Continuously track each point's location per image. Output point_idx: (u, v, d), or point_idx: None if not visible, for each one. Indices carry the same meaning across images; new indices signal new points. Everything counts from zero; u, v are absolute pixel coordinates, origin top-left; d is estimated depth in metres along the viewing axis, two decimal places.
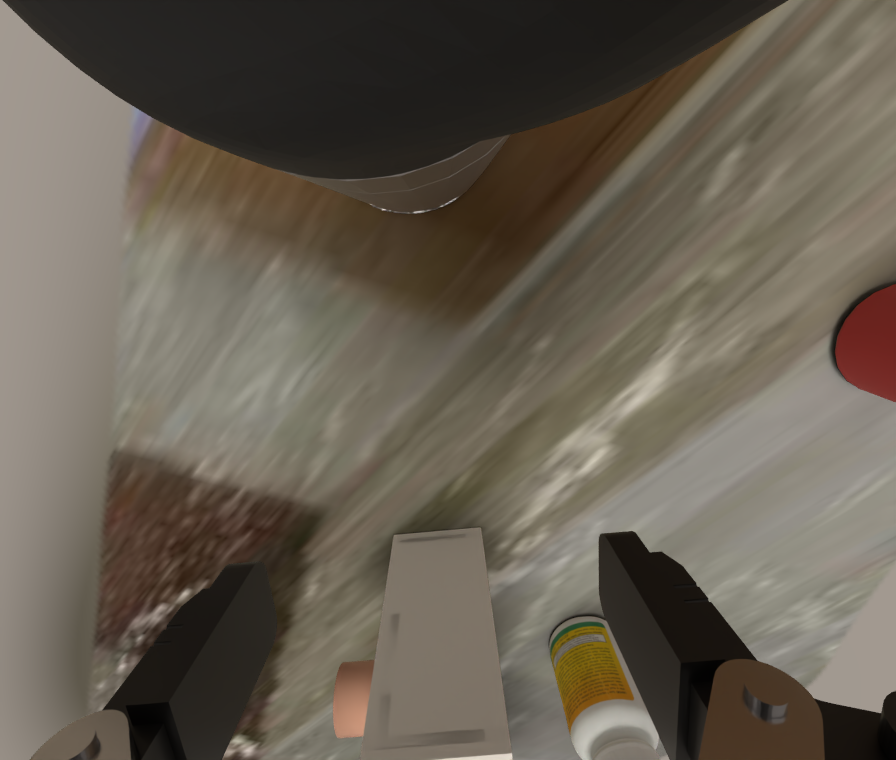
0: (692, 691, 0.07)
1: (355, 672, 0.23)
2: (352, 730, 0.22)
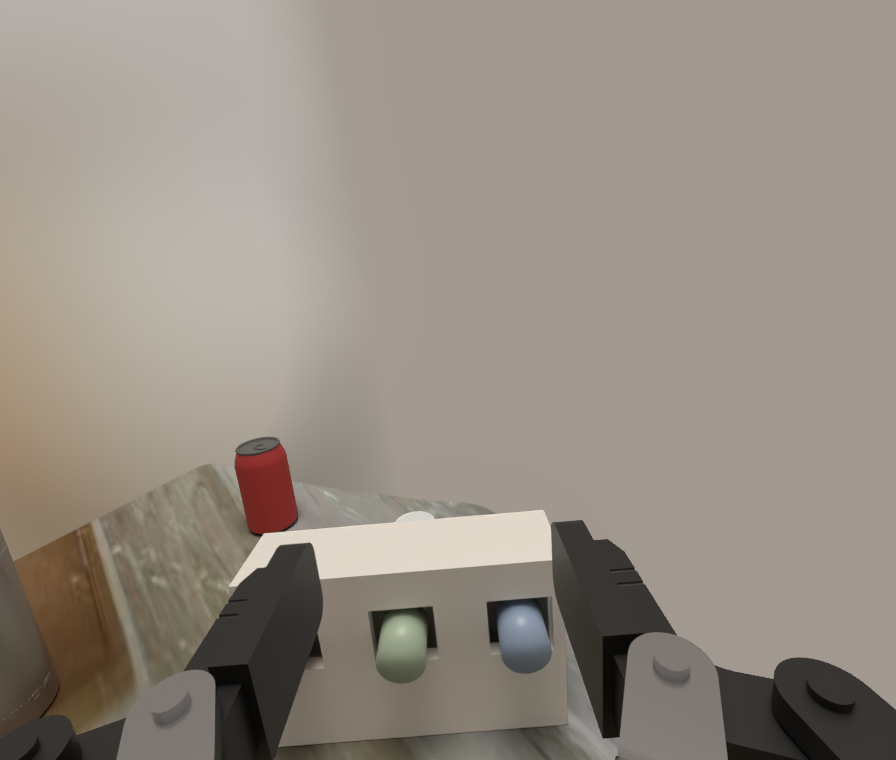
0: (614, 662, 0.07)
1: None
2: None
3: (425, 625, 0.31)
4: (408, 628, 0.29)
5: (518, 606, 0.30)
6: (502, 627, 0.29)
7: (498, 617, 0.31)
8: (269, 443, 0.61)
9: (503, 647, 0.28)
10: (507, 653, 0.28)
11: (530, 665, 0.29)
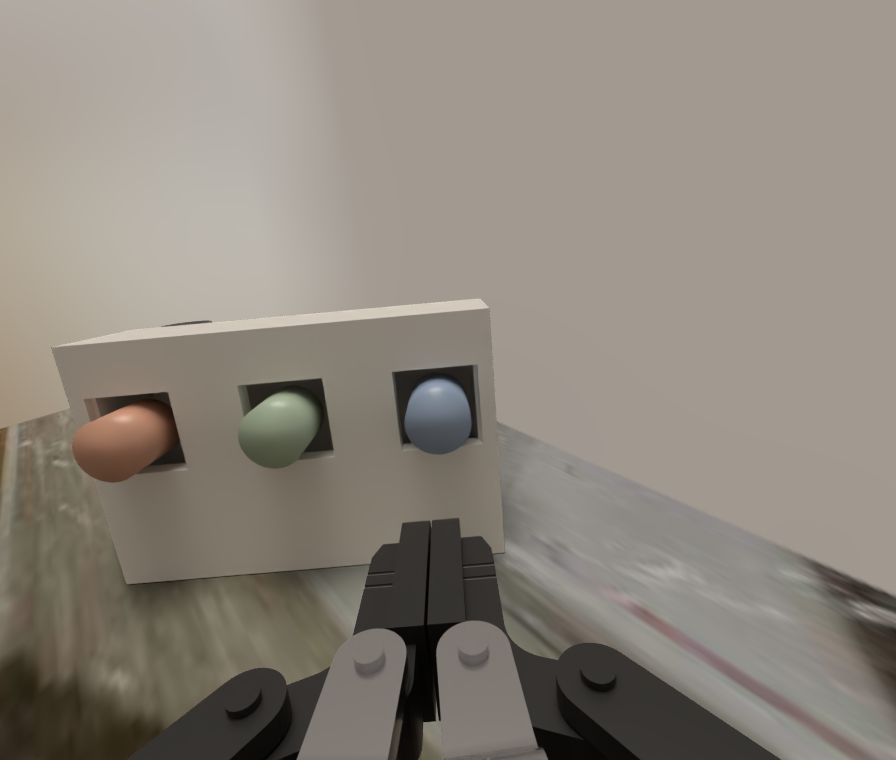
0: None
1: None
2: (111, 415, 0.22)
3: (315, 409, 0.24)
4: (286, 399, 0.22)
5: (433, 379, 0.23)
6: (410, 400, 0.23)
7: None
8: None
9: (406, 414, 0.21)
10: (412, 424, 0.21)
11: (444, 442, 0.22)
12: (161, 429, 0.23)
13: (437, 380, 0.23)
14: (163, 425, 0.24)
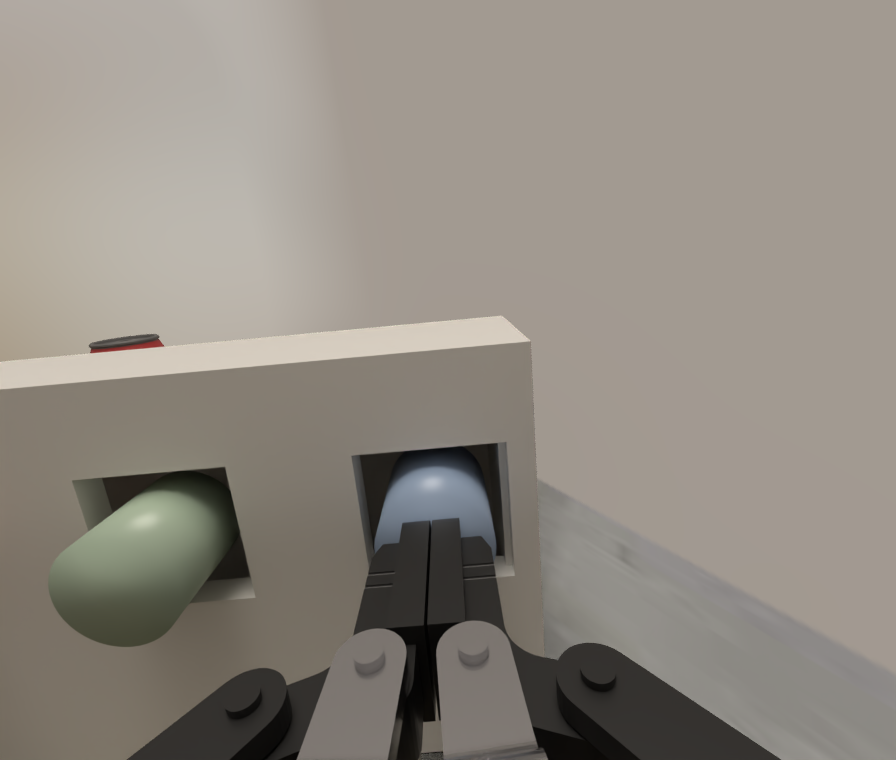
0: None
1: None
2: None
3: (218, 518, 0.13)
4: (152, 513, 0.12)
5: (428, 457, 0.14)
6: (386, 497, 0.13)
7: (388, 486, 0.14)
8: None
9: (378, 533, 0.12)
10: None
11: None
12: None
13: (434, 460, 0.13)
14: None
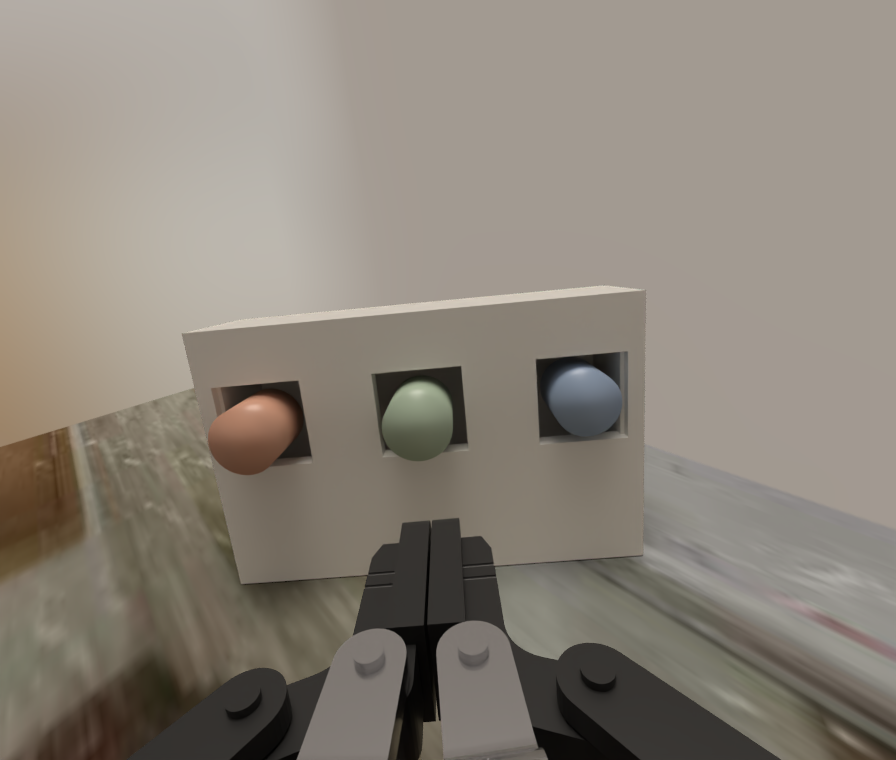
0: None
1: None
2: (245, 404, 0.21)
3: (450, 400, 0.22)
4: (427, 388, 0.21)
5: (573, 362, 0.23)
6: (552, 382, 0.22)
7: (546, 381, 0.23)
8: None
9: (557, 395, 0.21)
10: (561, 405, 0.21)
11: (592, 423, 0.21)
12: (290, 420, 0.22)
13: (578, 362, 0.23)
14: (291, 416, 0.22)
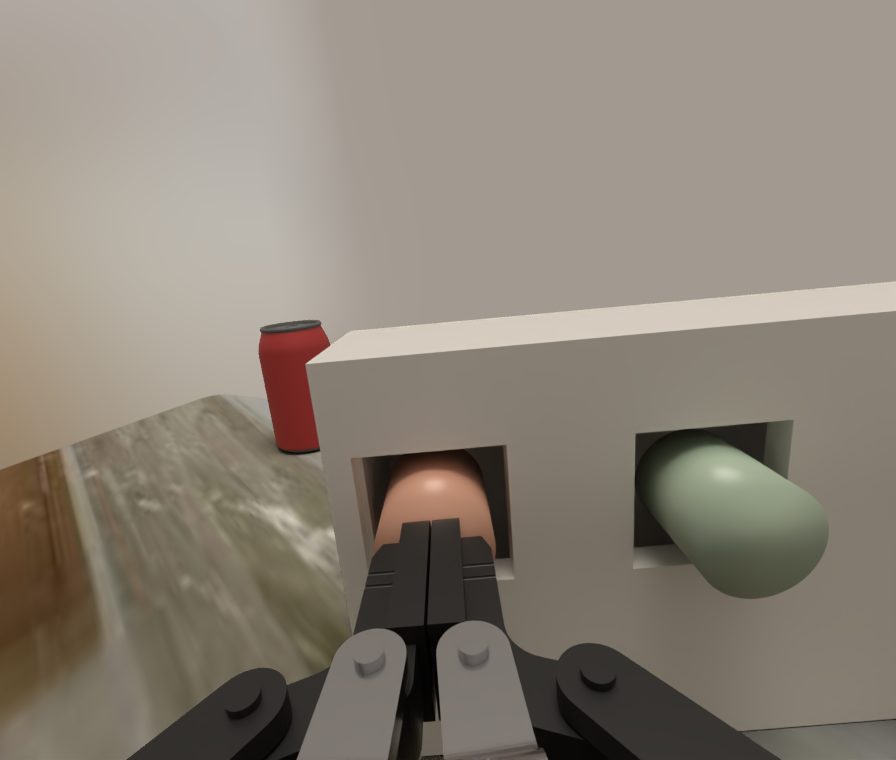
0: None
1: None
2: (432, 481, 0.12)
3: None
4: (756, 463, 0.12)
5: None
6: None
7: None
8: None
9: None
10: None
11: None
12: (486, 498, 0.14)
13: None
14: (484, 490, 0.14)
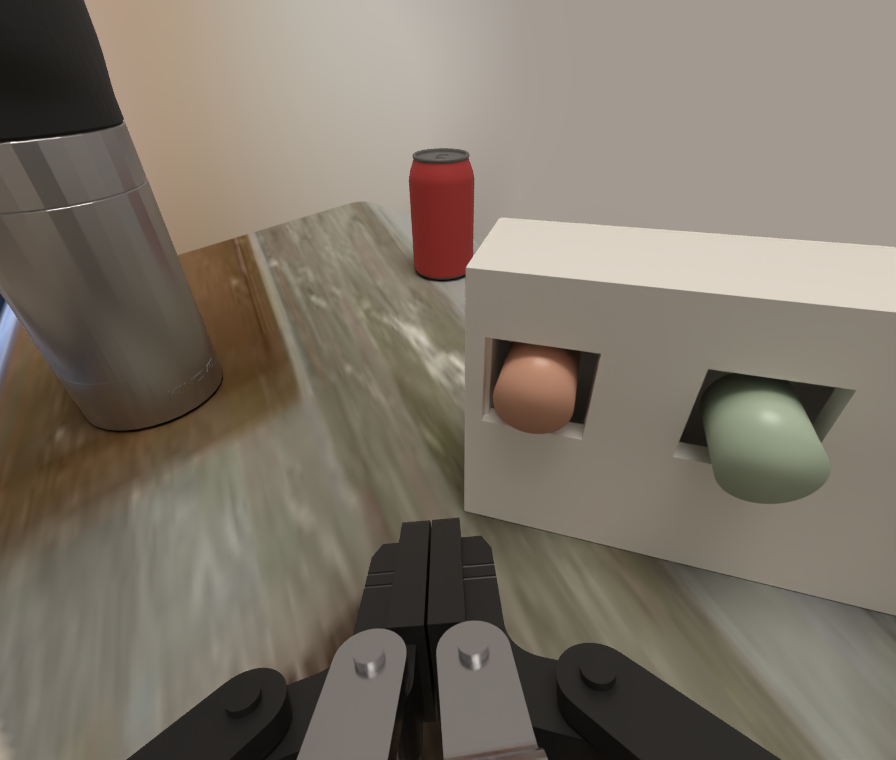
0: None
1: None
2: (541, 359, 0.17)
3: None
4: (798, 416, 0.15)
5: None
6: None
7: None
8: (455, 155, 0.44)
9: None
10: None
11: None
12: (577, 376, 0.19)
13: None
14: (577, 370, 0.19)
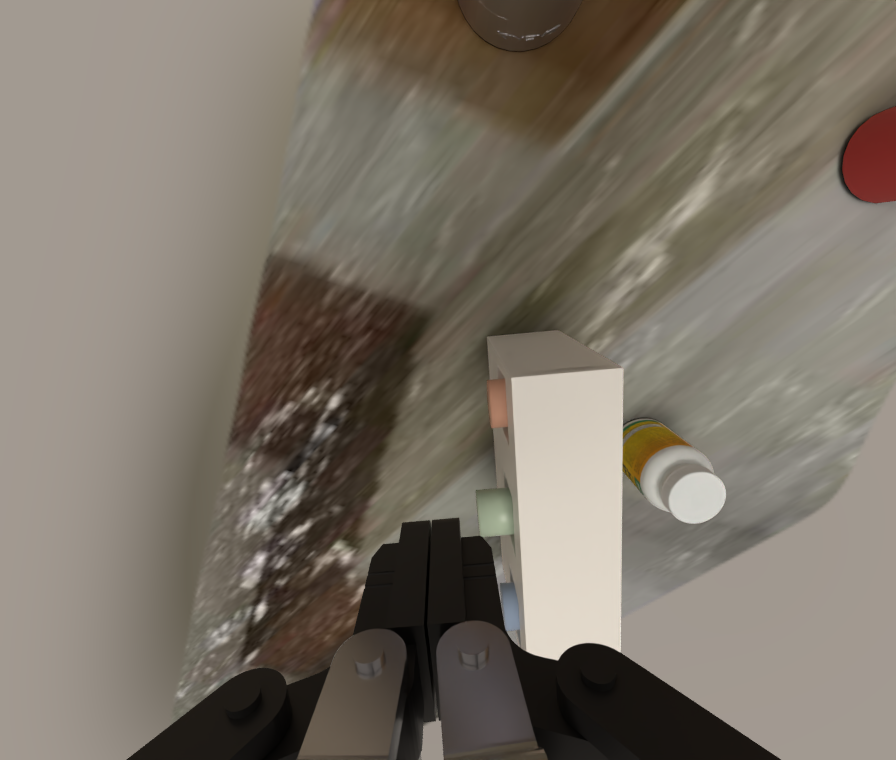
0: None
1: (501, 379, 0.29)
2: (505, 411, 0.28)
3: None
4: (498, 531, 0.30)
5: None
6: None
7: None
8: None
9: (503, 596, 0.33)
10: (502, 593, 0.33)
11: (501, 599, 0.35)
12: None
13: None
14: None
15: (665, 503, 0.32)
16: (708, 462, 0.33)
